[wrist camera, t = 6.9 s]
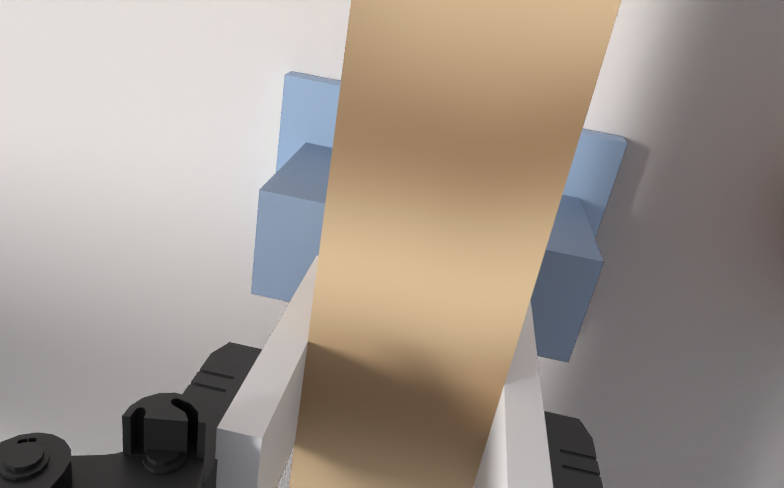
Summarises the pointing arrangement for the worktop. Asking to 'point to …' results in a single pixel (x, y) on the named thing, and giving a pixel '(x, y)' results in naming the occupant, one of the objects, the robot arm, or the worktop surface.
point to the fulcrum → (308, 196)
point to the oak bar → (437, 228)
